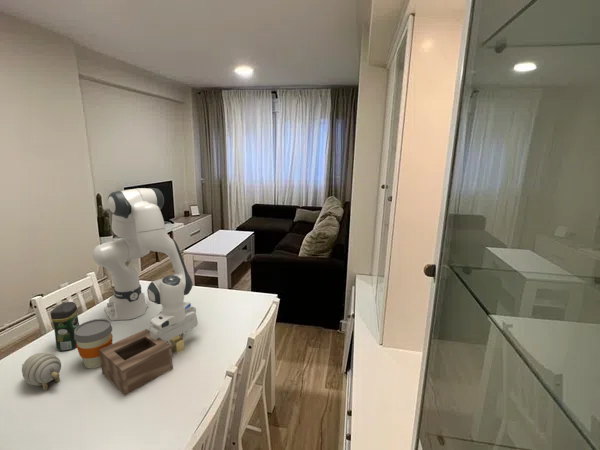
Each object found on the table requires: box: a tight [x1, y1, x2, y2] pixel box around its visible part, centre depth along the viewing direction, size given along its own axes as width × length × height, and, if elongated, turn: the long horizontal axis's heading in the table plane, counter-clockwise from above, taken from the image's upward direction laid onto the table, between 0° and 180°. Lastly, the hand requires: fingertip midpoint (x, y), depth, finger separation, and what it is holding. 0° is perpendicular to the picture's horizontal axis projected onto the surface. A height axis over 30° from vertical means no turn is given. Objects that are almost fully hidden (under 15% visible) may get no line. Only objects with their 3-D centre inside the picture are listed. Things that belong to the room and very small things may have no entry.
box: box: [99, 328, 174, 396], centre depth 122 cm, size 18×18×10 cm
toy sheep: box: [21, 352, 62, 391], centre depth 115 cm, size 11×17×11 cm, turn 72°
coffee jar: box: [50, 301, 80, 352], centre depth 135 cm, size 10×8×19 cm
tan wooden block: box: [170, 335, 185, 354], centre depth 137 cm, size 6×4×5 cm, turn 53°
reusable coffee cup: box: [74, 318, 113, 369], centre depth 127 cm, size 13×13×15 cm
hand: (176, 344), depth 137 cm, fingers closed on tan wooden block, 3 cm apart
